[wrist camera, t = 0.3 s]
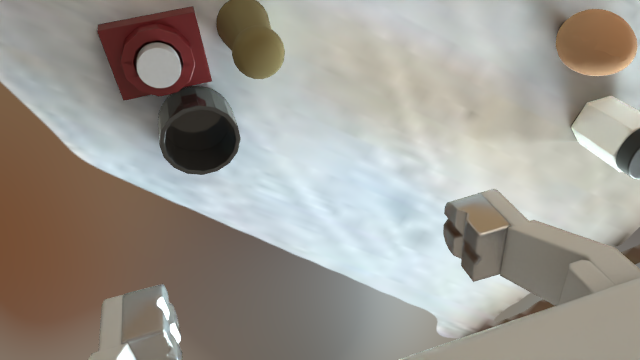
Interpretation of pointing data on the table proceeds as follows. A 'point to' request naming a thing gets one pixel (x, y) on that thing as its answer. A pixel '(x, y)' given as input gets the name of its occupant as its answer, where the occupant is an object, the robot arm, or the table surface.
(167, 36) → the panel
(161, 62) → the button
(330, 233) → the table surface
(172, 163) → the cup
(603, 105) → the jar
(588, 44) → the egg
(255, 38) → the olive yellow knobbed peg
